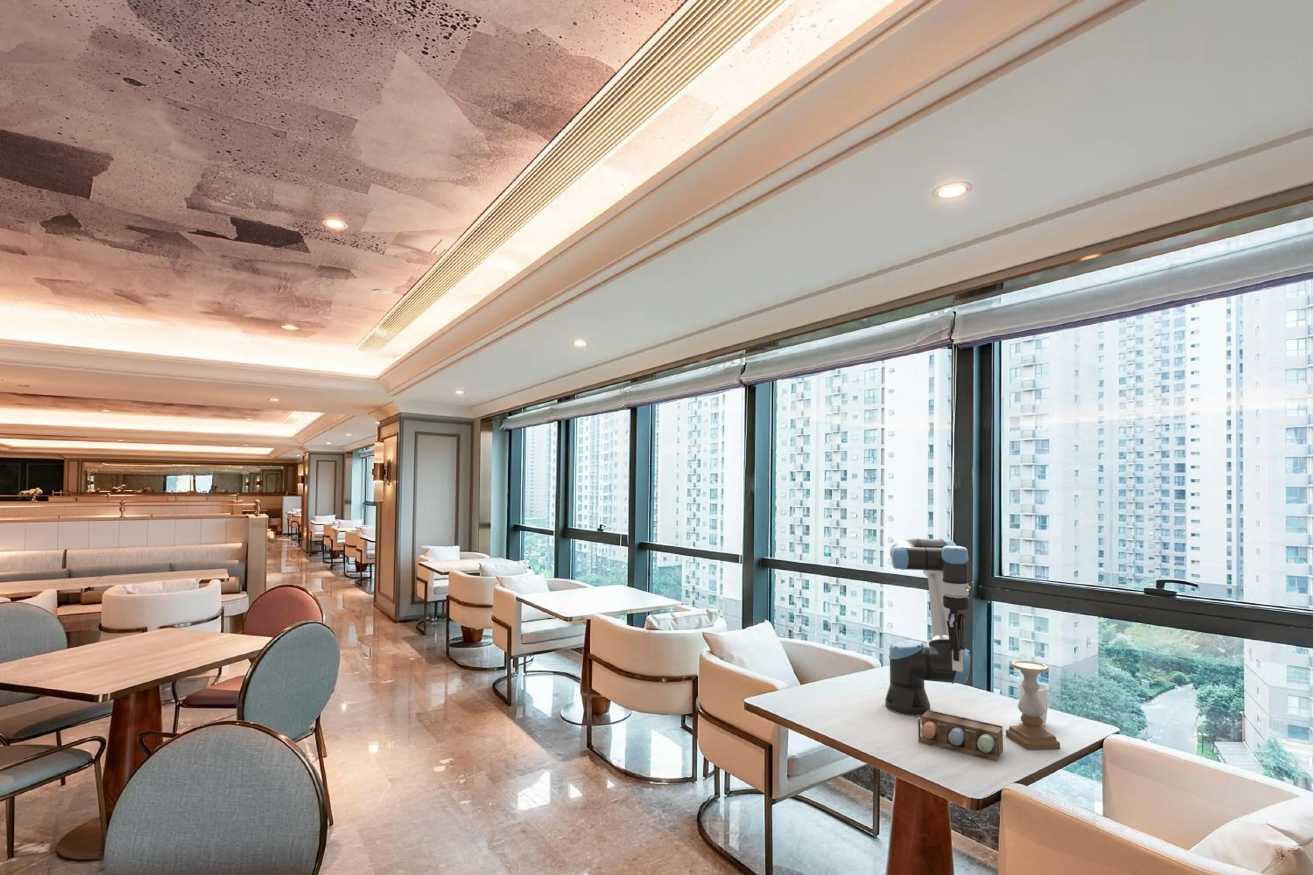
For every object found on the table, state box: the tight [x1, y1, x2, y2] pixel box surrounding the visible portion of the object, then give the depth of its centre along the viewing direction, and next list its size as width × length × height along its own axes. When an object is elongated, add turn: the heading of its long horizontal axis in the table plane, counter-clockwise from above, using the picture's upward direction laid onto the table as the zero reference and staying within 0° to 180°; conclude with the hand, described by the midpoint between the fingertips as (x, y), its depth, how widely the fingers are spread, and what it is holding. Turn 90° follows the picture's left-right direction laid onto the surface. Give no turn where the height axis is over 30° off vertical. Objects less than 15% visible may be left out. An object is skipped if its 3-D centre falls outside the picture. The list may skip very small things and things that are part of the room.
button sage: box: [977, 734, 995, 753], centre depth 188 cm, size 4×4×4 cm
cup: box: [1017, 682, 1050, 727], centre depth 216 cm, size 9×9×12 cm
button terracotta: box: [920, 721, 937, 739], centre depth 198 cm, size 4×4×4 cm
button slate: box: [948, 728, 965, 745], centre depth 193 cm, size 4×4×4 cm
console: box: [917, 709, 1004, 763], centre depth 196 cm, size 22×10×7 cm, turn 52°
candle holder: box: [1005, 659, 1061, 751], centre depth 200 cm, size 11×11×24 cm
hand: (957, 670), depth 200 cm, fingers closed
